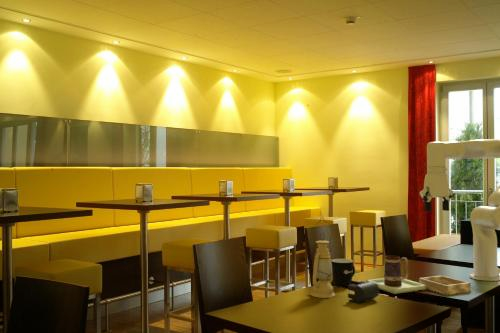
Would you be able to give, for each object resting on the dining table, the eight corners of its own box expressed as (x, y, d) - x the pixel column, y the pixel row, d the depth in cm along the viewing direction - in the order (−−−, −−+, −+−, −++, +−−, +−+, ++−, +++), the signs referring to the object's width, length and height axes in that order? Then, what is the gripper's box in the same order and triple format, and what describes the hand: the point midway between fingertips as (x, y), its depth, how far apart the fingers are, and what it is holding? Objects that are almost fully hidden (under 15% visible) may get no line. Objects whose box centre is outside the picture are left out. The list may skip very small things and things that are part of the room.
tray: (397, 280, 216) (397, 276, 216) (426, 289, 200) (426, 285, 200) (366, 284, 210) (366, 280, 210) (394, 293, 194) (394, 289, 194)
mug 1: (343, 288, 204) (343, 263, 204) (327, 284, 211) (326, 260, 211) (362, 284, 211) (362, 260, 211) (346, 280, 218) (346, 257, 218)
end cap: (363, 305, 177) (363, 286, 177) (347, 302, 183) (347, 283, 183) (379, 300, 184) (379, 282, 184) (363, 297, 189) (363, 279, 189)
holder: (442, 283, 210) (441, 275, 210) (470, 291, 196) (470, 282, 196) (419, 286, 205) (419, 278, 205) (446, 294, 191) (446, 285, 191)
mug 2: (380, 285, 206) (380, 255, 206) (389, 282, 211) (389, 253, 211) (403, 289, 199) (402, 258, 199) (412, 286, 203) (411, 256, 204)
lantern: (321, 290, 201) (321, 215, 201) (342, 294, 194) (341, 216, 194) (302, 295, 192) (301, 217, 192) (323, 300, 185) (322, 219, 185)
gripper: (445, 170, 221) (446, 209, 220) (414, 171, 214) (414, 211, 214) (458, 170, 214) (459, 210, 213) (426, 171, 207) (427, 212, 207)
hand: (436, 210), depth 214 cm, fingers open, 9 cm apart
